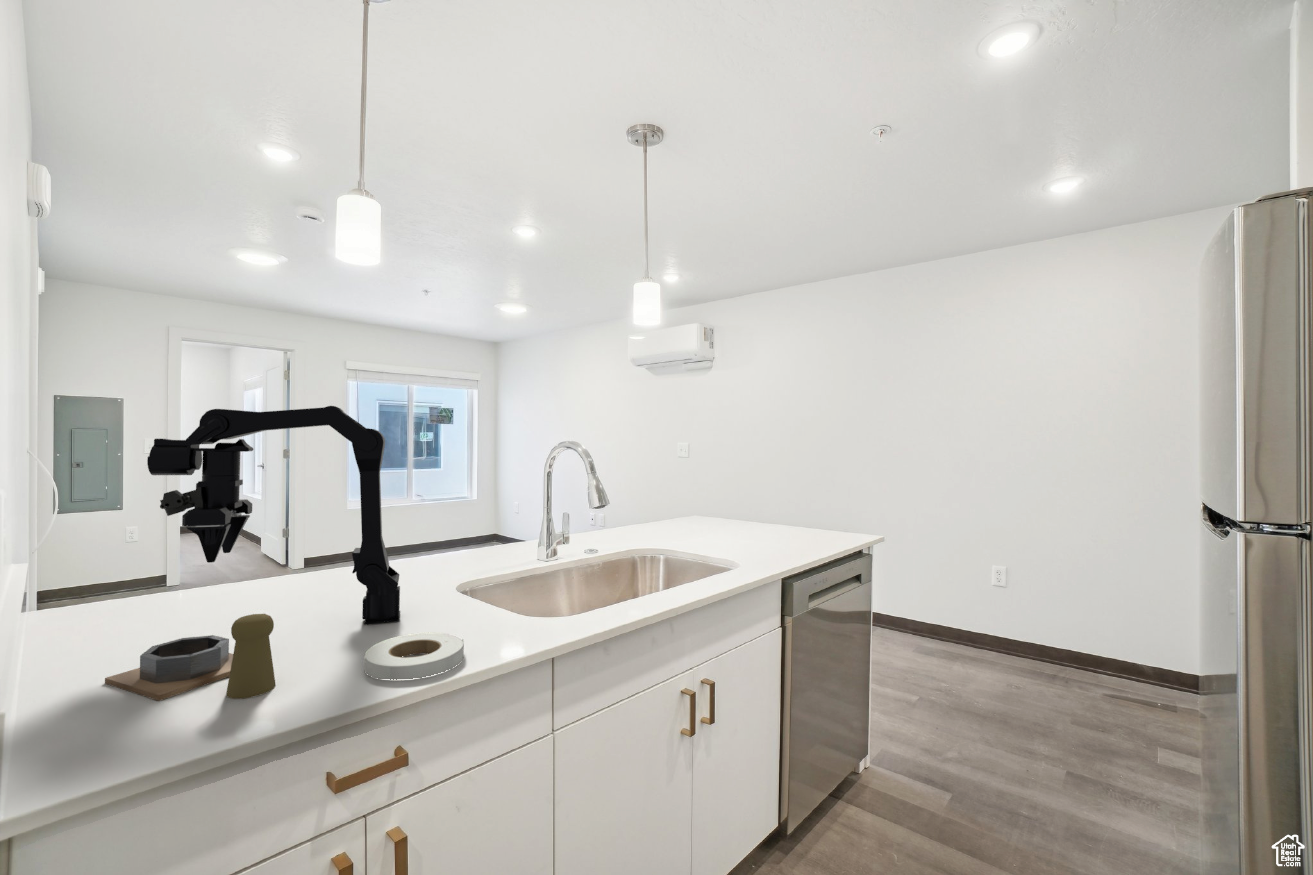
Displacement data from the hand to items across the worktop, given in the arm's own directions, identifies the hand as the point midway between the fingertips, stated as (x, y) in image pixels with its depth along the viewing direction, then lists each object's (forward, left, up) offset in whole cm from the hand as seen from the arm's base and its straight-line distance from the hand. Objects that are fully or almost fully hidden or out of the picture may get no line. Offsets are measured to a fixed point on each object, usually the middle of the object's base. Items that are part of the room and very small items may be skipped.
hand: (219, 557), depth 108 cm
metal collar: (-1, +20, -15) cm, 25 cm away
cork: (-12, +30, -15) cm, 36 cm away
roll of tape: (-35, +27, -15) cm, 47 cm away
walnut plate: (-1, +20, -15) cm, 25 cm away
